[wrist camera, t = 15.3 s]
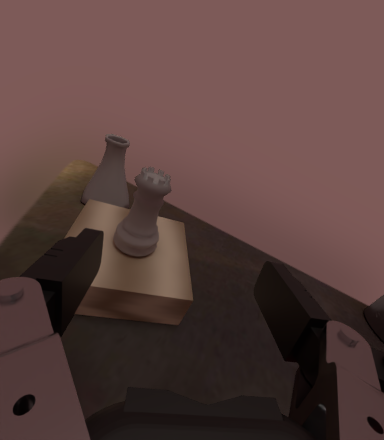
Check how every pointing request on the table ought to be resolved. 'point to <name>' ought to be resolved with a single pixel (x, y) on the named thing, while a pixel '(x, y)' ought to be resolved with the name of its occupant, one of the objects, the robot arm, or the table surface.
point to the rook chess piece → (143, 215)
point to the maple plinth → (136, 271)
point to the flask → (110, 175)
